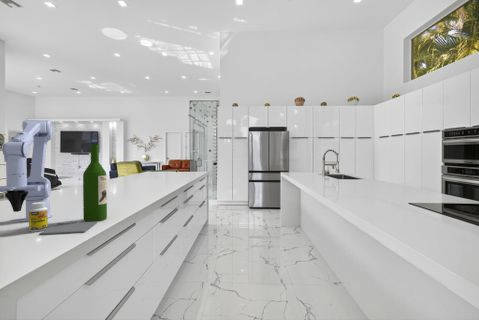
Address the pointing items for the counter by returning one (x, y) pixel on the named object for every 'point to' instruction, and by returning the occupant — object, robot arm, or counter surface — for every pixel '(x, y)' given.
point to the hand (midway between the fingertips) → (17, 211)
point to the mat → (68, 228)
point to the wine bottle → (94, 189)
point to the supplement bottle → (38, 217)
